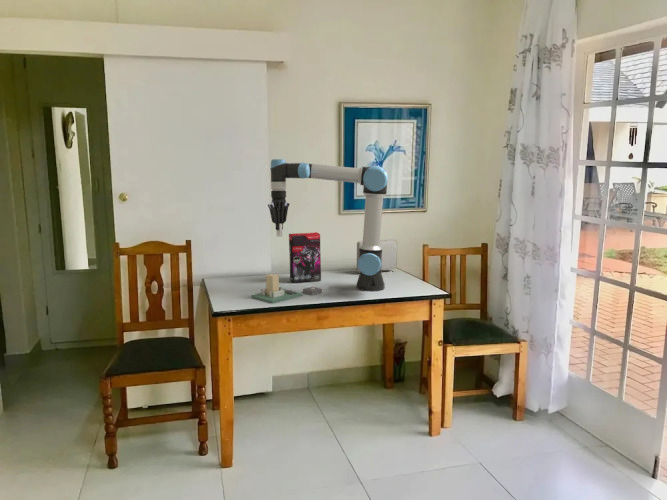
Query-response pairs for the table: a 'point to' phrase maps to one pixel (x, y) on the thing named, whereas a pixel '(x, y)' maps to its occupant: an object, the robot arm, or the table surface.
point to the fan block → (312, 290)
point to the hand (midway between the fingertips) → (279, 236)
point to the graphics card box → (305, 257)
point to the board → (276, 295)
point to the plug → (272, 283)
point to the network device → (385, 254)
